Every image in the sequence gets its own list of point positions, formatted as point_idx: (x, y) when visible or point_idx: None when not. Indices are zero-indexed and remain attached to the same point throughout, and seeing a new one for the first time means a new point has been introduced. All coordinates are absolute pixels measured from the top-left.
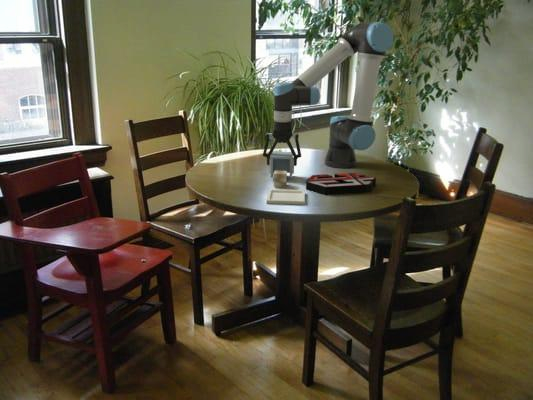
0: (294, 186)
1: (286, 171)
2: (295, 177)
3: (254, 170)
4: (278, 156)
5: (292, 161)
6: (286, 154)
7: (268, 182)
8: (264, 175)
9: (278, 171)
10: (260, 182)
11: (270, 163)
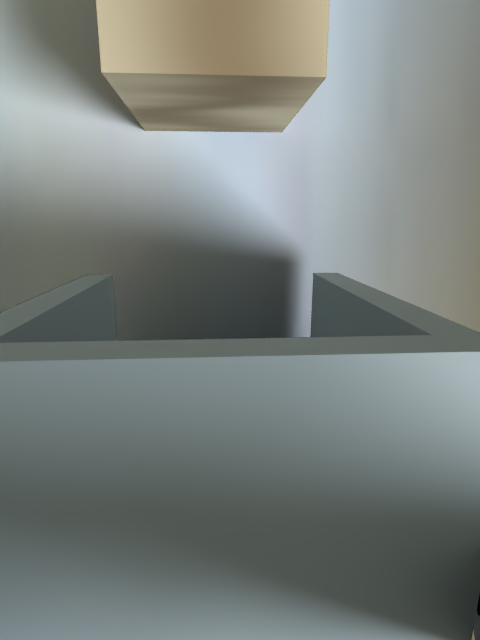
0: (41, 60)
1: (100, 16)
2: None
3: None
4: (310, 381)
5: None
6: (106, 610)
7: (347, 201)
8: None
9: (254, 4)
10: (431, 192)
11: None
